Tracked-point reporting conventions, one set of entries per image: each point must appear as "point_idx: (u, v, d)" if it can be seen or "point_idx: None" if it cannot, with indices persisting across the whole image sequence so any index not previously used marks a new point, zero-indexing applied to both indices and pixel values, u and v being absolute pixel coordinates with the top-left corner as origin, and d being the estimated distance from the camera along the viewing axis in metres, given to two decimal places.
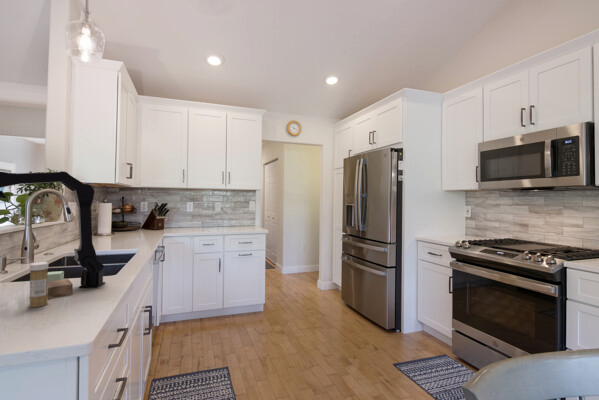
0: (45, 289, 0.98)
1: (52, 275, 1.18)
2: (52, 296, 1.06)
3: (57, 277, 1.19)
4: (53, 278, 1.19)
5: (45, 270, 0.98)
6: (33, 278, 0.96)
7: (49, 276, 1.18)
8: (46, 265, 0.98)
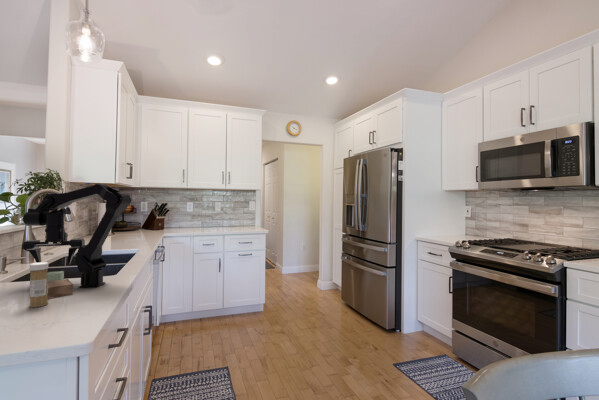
0: (45, 289, 0.98)
1: (52, 275, 1.18)
2: (52, 296, 1.06)
3: (56, 277, 1.19)
4: (53, 278, 1.19)
5: (45, 270, 0.98)
6: (33, 278, 0.96)
7: (49, 276, 1.18)
8: (46, 265, 0.98)
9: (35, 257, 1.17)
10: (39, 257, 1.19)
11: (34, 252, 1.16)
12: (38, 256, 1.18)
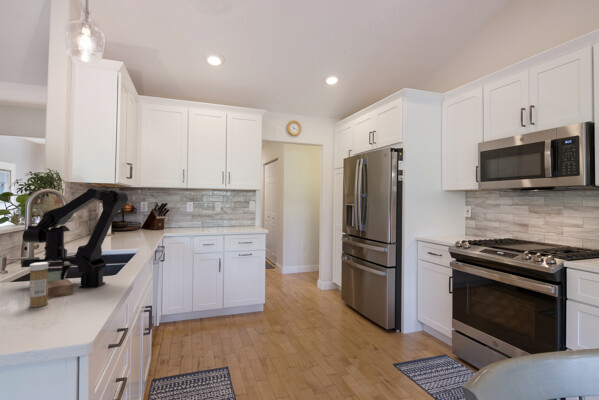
0: (45, 289, 0.98)
1: (52, 275, 1.18)
2: (53, 296, 1.06)
3: (57, 276, 1.19)
4: (53, 278, 1.19)
5: (45, 270, 0.98)
6: (33, 278, 0.96)
7: (49, 276, 1.18)
8: (46, 265, 0.98)
9: None
10: None
11: None
12: None
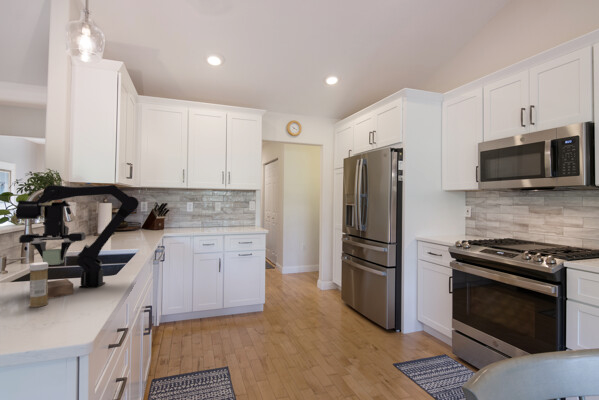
0: (45, 289, 0.98)
1: (51, 252, 1.12)
2: (53, 296, 1.06)
3: (56, 254, 1.13)
4: (52, 255, 1.12)
5: (45, 270, 0.98)
6: (33, 278, 0.96)
7: (48, 253, 1.12)
8: (46, 265, 0.98)
9: (40, 251, 1.12)
10: None
11: (38, 246, 1.11)
12: (43, 250, 1.13)
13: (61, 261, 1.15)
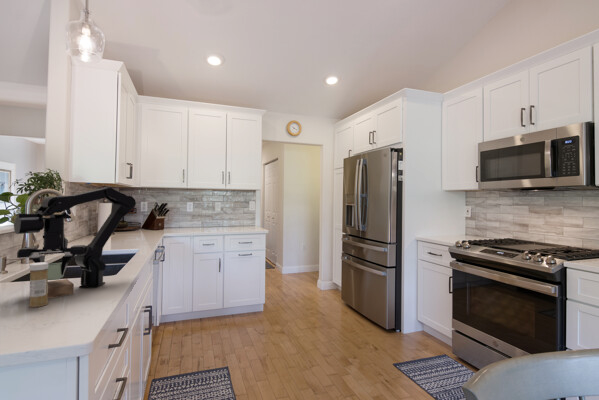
0: (45, 289, 0.98)
1: (51, 266, 1.08)
2: (53, 296, 1.06)
3: (56, 268, 1.08)
4: (52, 270, 1.08)
5: (45, 270, 0.98)
6: (33, 278, 0.96)
7: (48, 267, 1.07)
8: (46, 265, 0.98)
9: None
10: None
11: (38, 260, 1.06)
12: None
13: (61, 276, 1.10)
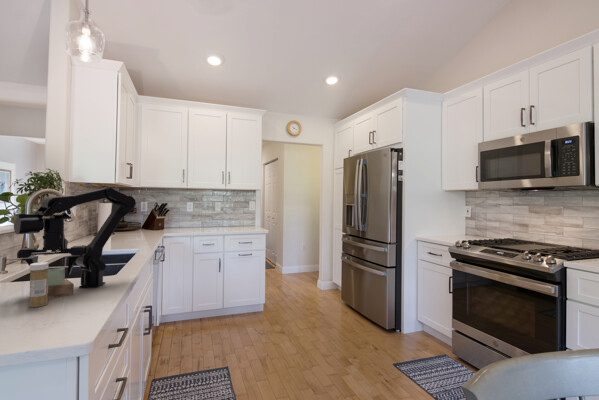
0: (45, 289, 0.98)
1: (52, 272, 1.08)
2: (53, 296, 1.06)
3: (57, 274, 1.08)
4: (53, 275, 1.08)
5: (45, 270, 0.98)
6: (33, 278, 0.96)
7: (49, 273, 1.07)
8: (46, 265, 0.98)
9: None
10: None
11: (31, 261, 1.05)
12: None
13: (62, 281, 1.11)
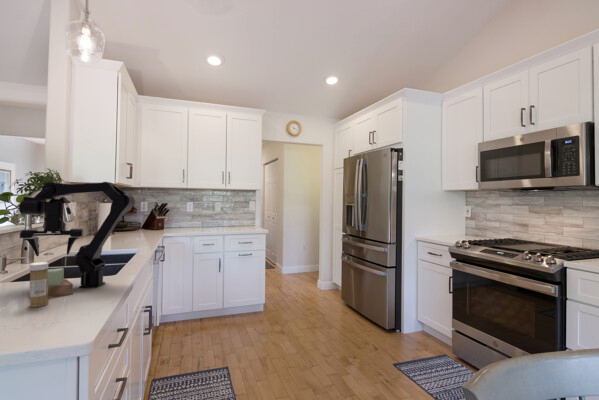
0: (45, 289, 0.98)
1: (50, 272, 1.07)
2: (52, 296, 1.06)
3: (55, 274, 1.08)
4: (51, 276, 1.07)
5: (45, 270, 0.98)
6: (33, 278, 0.96)
7: None
8: (46, 265, 0.98)
9: (33, 246, 1.14)
10: (37, 247, 1.16)
11: (32, 241, 1.13)
12: (36, 245, 1.15)
13: (61, 282, 1.10)
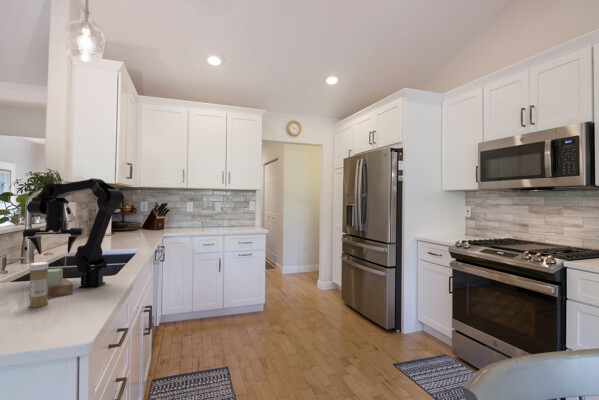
0: (45, 289, 0.98)
1: (49, 273, 1.07)
2: (53, 296, 1.06)
3: (54, 274, 1.07)
4: (50, 276, 1.07)
5: (45, 270, 0.98)
6: (33, 278, 0.96)
7: None
8: (46, 265, 0.98)
9: (36, 245, 1.20)
10: (40, 245, 1.22)
11: (35, 240, 1.19)
12: (38, 244, 1.21)
13: (59, 282, 1.10)
